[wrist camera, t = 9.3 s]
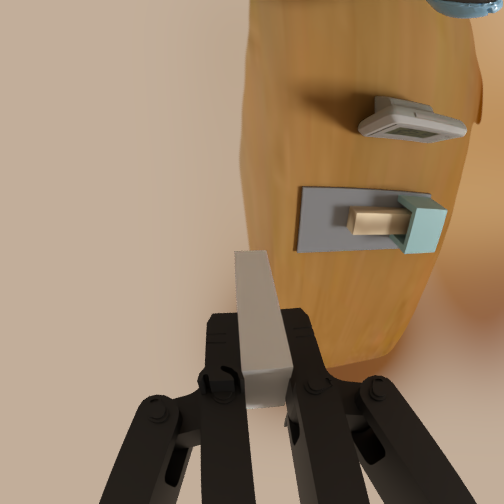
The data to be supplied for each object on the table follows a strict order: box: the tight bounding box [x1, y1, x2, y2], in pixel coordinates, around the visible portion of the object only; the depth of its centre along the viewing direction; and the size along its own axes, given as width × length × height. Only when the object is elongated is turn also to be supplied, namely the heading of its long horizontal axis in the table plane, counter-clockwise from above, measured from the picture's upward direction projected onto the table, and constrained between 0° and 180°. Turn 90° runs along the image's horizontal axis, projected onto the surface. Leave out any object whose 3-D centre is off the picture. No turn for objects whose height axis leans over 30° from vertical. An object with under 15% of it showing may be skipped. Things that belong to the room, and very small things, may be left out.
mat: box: [297, 186, 431, 253], centre depth 46 cm, size 12×27×1 cm, turn 90°
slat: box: [346, 206, 412, 235], centre depth 44 cm, size 4×14×3 cm, turn 90°
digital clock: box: [358, 96, 467, 143], centre depth 32 cm, size 16×9×11 cm, turn 82°
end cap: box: [389, 195, 447, 254], centre depth 43 cm, size 9×8×6 cm
